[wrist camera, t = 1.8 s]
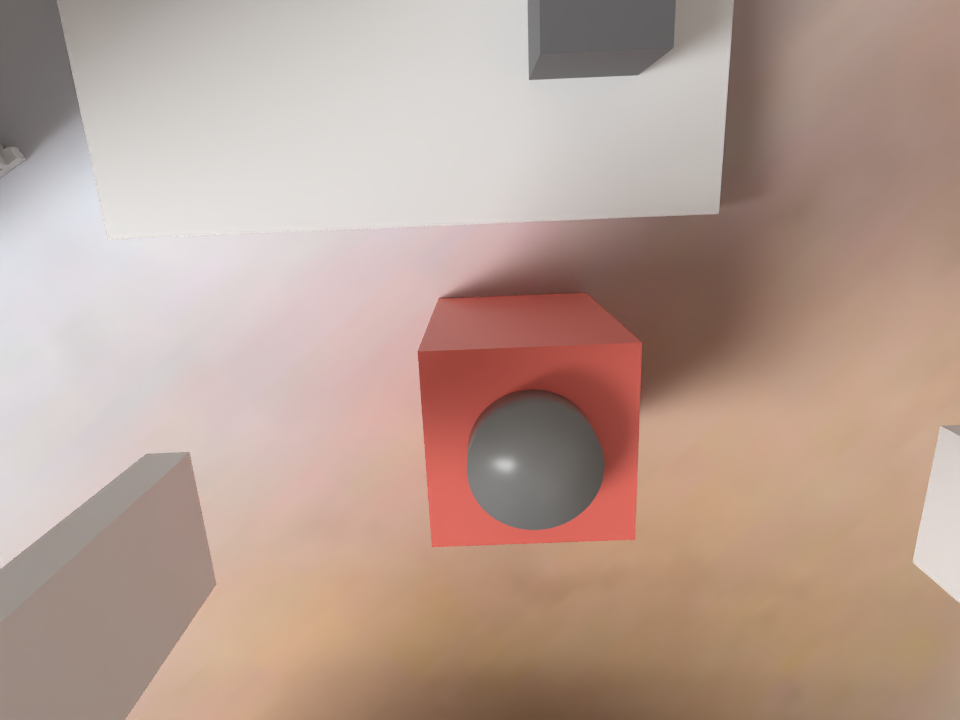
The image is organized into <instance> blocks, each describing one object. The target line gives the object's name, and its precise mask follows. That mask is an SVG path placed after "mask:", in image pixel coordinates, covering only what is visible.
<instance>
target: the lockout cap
mask: <svg viewBox="0 0 960 720" xmlns="http://www.w3.org/2000/svg"><path fill="white" fill-rule="evenodd" d="M418 361H419V375H420V389H421V403H422V416H423V430H424V444H425V458H426V471H427V485H428V499H429V513H430V526H431V540H432V547H444V546H472V545H499V544H526V543H553V542H580V541H607V540H634V539H635V522H636V495H637V469H638V442H639V415H640V388H641V361H642V342H641V341H640V340H639V339H638V338H637V337H635V336H634V335H633V334H632V333H631V332H630V331H629V330H628V329H626V328H625V327H624V326H623V325H622V324H621V323H620V322H619V321H617V320H616V319H615V318H614V317H613V316H612V315H611V314H610V313H608V312H607V311H606V310H605V309H604V308H603V307H602V306H601V305H599V304H598V303H597V302H596V301H595V300H594V299H593V298H592V297H590V296H589V295H588V294H587V293H586V292H585V293H560V294H536V295H512V296H487V297H463V298H439V299H438V302H437V304H436V307H435V309H434V312H433V314H432V317H431V319H430V322H429V324H428V327H427V329H426V332H425V334H424V337H423V339H422V342H421V345H420V347H419V350H418Z"/></svg>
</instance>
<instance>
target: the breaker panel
mask: <svg viewBox="0 0 960 720" xmlns="http://www.w3.org/2000/svg"><path fill="white" fill-rule="evenodd" d="M57 5H58V10H59V14H60V19H61V24H62V28H63V33H64V38H65V43H66V47H67V52H68V57H69V61H70V66H71V71H72V75H73V80H74V85H75V89H76V94H77V99H78V103H79V108H80V113H81V117H82V122H83V127H84V132H85V136H86V141H87V146H88V150H89V155H90V160H91V164H92V169H93V174H94V178H95V183H96V188H97V192H98V197H99V202H100V206H101V211H102V216H103V221H104V225H105V230H106V235H107V239H108V240H109V239H133V238H157V237H180V236H204V235H228V234H252V233H276V232H299V231H323V230H347V229H371V228H394V227H418V226H442V225H466V224H490V223H513V222H537V221H561V220H585V219H609V218H632V217H656V216H680V215H704V214H719V206H720V192H721V178H722V164H723V149H724V135H725V121H726V107H727V93H728V78H729V64H730V50H731V36H732V22H733V7H734V0H57Z"/></svg>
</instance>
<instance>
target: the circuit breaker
mask: <svg viewBox="0 0 960 720" xmlns="http://www.w3.org/2000/svg"><path fill="white" fill-rule="evenodd" d="M25 160H26V158H25V156H24V155H23V154H22V153H21V151H20V150H19V149H18V147H14V146H8V147H7V148H5V149H4V148H3V146H2V145H1V144H0V178H1V177H2V176H4V175H5V174H7V173H8V172H9V171H11V170H12V169H13V168H15V167H16V166H18V165H19V164H20V163H22V162H23V161H25Z"/></svg>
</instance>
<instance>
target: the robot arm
mask: <svg viewBox="0 0 960 720" xmlns="http://www.w3.org/2000/svg"><path fill="white" fill-rule="evenodd" d="M913 563H914V564H915V565H916V566H917V567H919V568H920V569H921V570H922V571H923V572H924V573H925V574H927V575H928V576H929V577H930V578H931V579H932V580H934V581H935V582H936V583H937V584H938V585H939V586H940V587H942V588H943V589H944V590H945V591H946V592H947V593H948V594H950V595H951V596H952V597H953V598H954V599H955V600H956V601H958V602H959V603H960V425H951V426H940V430H939V435H938V440H937V445H936V450H935V455H934V460H933V465H932V469H931V474H930V479H929V484H928V489H927V494H926V499H925V504H924V508H923V513H922V518H921V523H920V528H919V533H918V538H917V543H916V548H915V552H914V557H913ZM215 585H216V580H215V575H214V570H213V566H212V561H211V556H210V551H209V546H208V541H207V536H206V531H205V526H204V521H203V517H202V512H201V507H200V502H199V497H198V492H197V487H196V482H195V477H194V472H193V468H192V463H191V458H190V453H189V452H185V453H157V454H146V455H144V456H143V457H142V458H141V459H139V460H138V461H137V462H136V463H134V464H133V465H132V466H131V467H129V468H128V469H127V470H126V471H124V472H123V473H122V474H120V475H119V476H118V477H117V478H115V479H114V480H113V481H112V482H110V483H109V484H108V485H107V486H105V487H104V488H103V489H101V490H100V491H99V492H98V493H96V494H95V495H94V496H93V497H91V498H90V499H89V500H88V501H86V502H85V503H84V504H83V505H81V506H80V507H79V508H77V509H76V510H75V511H74V512H72V513H71V514H70V515H69V516H67V517H66V518H65V519H64V520H62V521H61V522H60V523H58V524H57V525H56V526H55V527H53V528H52V529H51V530H50V531H48V532H47V533H46V534H45V535H43V536H42V537H41V538H40V539H38V540H37V541H36V542H34V543H33V544H32V545H31V546H29V547H28V548H27V549H26V550H24V551H23V552H22V553H21V554H19V555H18V556H17V557H15V558H14V559H13V560H12V561H10V562H9V563H8V564H7V565H5V566H4V567H3V568H2V569H0V720H125V719H126V717H127V716H128V714H129V713H130V711H131V710H132V708H133V707H134V705H135V704H136V703H137V701H138V700H139V698H140V697H141V695H142V694H143V692H144V691H145V689H146V688H147V686H148V685H149V683H150V682H151V680H152V679H153V677H154V676H155V674H156V673H157V671H158V670H159V668H160V667H161V665H162V664H163V662H164V661H165V659H166V658H167V656H168V655H169V654H170V652H171V651H172V649H173V648H174V646H175V645H176V643H177V642H178V640H179V639H180V637H181V636H182V634H183V633H184V631H185V630H186V628H187V627H188V625H189V624H190V622H191V621H192V619H193V618H194V616H195V615H196V613H197V612H198V610H199V609H200V607H201V606H202V604H203V603H204V602H205V600H206V599H207V597H208V596H209V594H210V593H211V591H212V590H213V588H214V587H215Z"/></svg>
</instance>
